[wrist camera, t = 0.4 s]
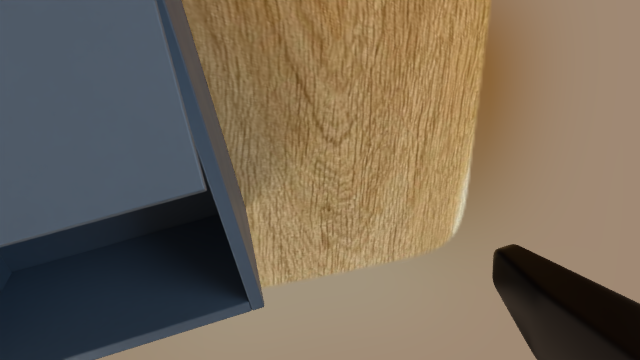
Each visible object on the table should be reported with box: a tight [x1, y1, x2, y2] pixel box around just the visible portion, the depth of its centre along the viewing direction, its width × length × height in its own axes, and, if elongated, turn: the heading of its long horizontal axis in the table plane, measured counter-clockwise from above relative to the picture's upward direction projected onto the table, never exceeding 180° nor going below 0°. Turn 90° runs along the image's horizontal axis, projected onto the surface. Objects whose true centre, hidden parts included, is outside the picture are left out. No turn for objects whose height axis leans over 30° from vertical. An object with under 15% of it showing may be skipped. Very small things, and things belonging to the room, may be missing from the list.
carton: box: [0, 0, 264, 360], centre depth 16 cm, size 13×12×8 cm
